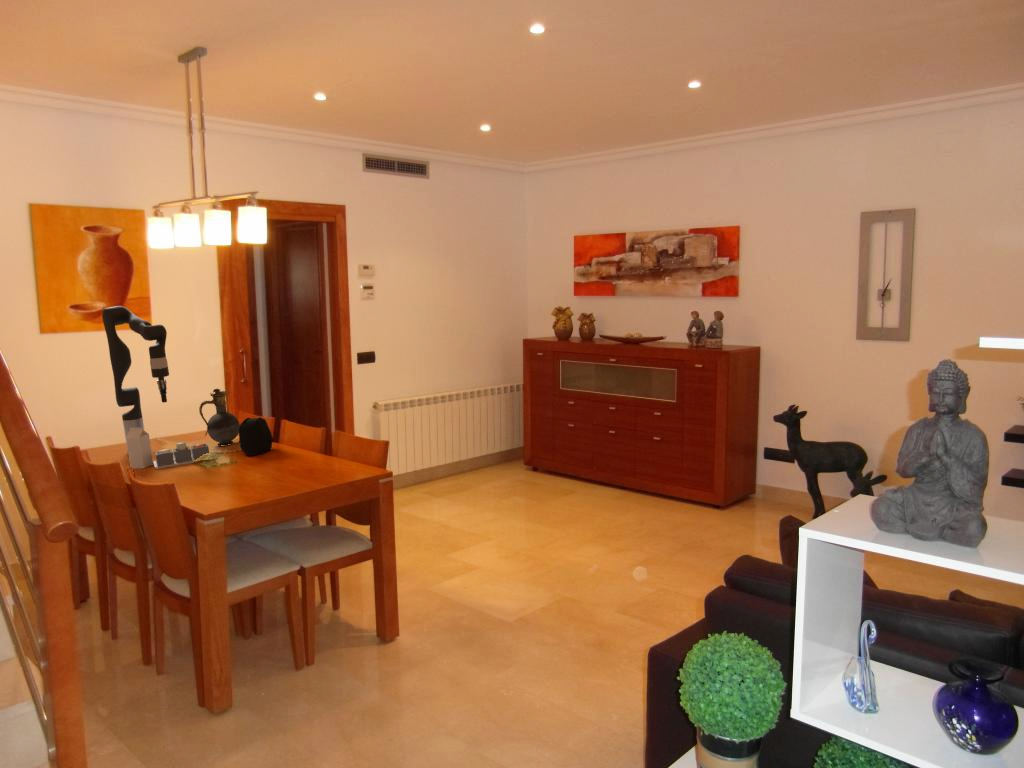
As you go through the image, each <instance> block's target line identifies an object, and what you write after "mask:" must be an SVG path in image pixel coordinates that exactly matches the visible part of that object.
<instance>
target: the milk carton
mask: <svg viewBox="0 0 1024 768" xmlns="http://www.w3.org/2000/svg"><path fill="white" fill-rule="evenodd" d="M126 441H127V445H126V449H127V448H128V451H127V453H128V459H129V466H130V468H131V467H132V468H131V469H146V468H147V467H151V466H152V465H154V464H153V461H154V459H153V452H152V447H151V446H152V445H151V440H150V434H149V433H148V432H147V431H146V430H145V429H144V430H143V428H130V431H129V433H128V435H127V437H126V438H125V442H126Z"/></svg>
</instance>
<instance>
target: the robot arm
mask: <svg viewBox="0 0 1024 768" xmlns="http://www.w3.org/2000/svg"><path fill="white" fill-rule="evenodd" d="M101 312H102V313H101V317H102V318H101V319H102V322H103V327H104V330H105V333H106V339H107V345H108V352H109V358H110V359H109V360H110V364H111V368H112V369H111V370H112V374H113V382H114V392H115V393H114V395H115V401H116V404H117V406H118V407H121V408H122V407H123V408H124V407H125V408H126V407H132V406H133V407H132V408H131V409H130V410H128V411H127V412H124V413H122V415H121V418H122V424H123V430H124V438H125V439H126V437H127V435H128V433H129V431H130V428H143V430H144V431H145V426H144V418H143V413H142V406H141V395H140V390H139V388H138V387H137V386H133V387H125V388H122V386H123V382H124V379H125V377H126V375H127V374H128V372H129V369H130V367H131V365H132V354H131V351H130V348H129V347H128V345H126V343H125V342H124V341H123V340H122V339H121V338H120V337H119V335H118V333H117V329H116V326H122V325H125V324H127V325H128V326H129V329H130V330H131V331H132V332H133V333H136V334H138V335H140V336H141V338H143V340H145V341H149V342H152V341H156V342H155V344H152V345H150V346H149V347H148V353H149V366H150V370H151V371H150V372H151V377H152V378H153V379H157V380H156V384H157V386H158V387H157V388H158V390H159V394H160V398H161V402H162V403H167V402H168V399H167V389H168V388H167V387H168V386H167V380H166V379H165V378H166V377H169V376H170V372H169V371H170V370H169V365H168V359H167V356H166V343H167V342H166V341H167V334H168V332H167V329H166V327H165V326H164V325H162V324H151V322H149V321H147V320H145V319H143V318H141V317H139V316H137V315H136V314H135V313H133V312H132V311H130V310H129V309H128V308H127V307H125V306H122V305H117V306H116V305H115V306H110V307H105V308H103V309H102V311H101ZM125 442H126V446H127V441H126V440H125ZM126 450H127V451H126V452H128V448H127V447H126Z"/></svg>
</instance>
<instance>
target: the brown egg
mask: <svg viewBox="0 0 1024 768" xmlns="http://www.w3.org/2000/svg"><path fill="white" fill-rule="evenodd" d="M204 444H205V443H201V442H200V443H196V444H194V445H193V446H195V448H198V447H204Z"/></svg>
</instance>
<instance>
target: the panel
mask: <svg viewBox="0 0 1024 768" xmlns="http://www.w3.org/2000/svg"><path fill="white" fill-rule="evenodd" d="M186 447H187V449H186V450H180V451H177V447H175V448H172V449H171V448H170V449H168V450H169V452H168V453H162V454H159V450H158V451H155V452H154V454H155V455H154V456H155V460H153V464H152V465H153V466H154V469H155V470H161V469H165V468H171V467H172V468H173V467H178V466H183V465H184V466H185V465H189V464H194V462H195V460H196V459H197V458H199V457H200V456H202V455H203V454H206V453H209V451H210V449H209V445H208V444H207V443H204V447H198V448H195V446H194V445H191V446H186ZM195 463H196V462H195Z"/></svg>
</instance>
